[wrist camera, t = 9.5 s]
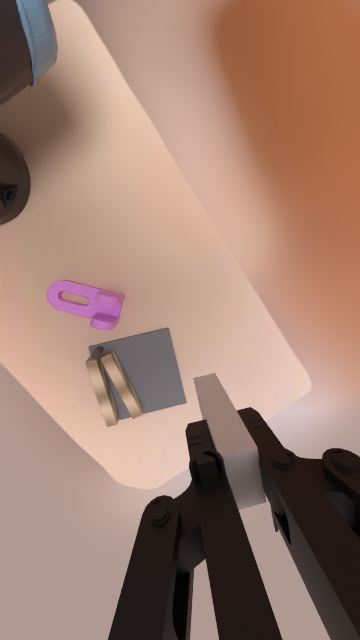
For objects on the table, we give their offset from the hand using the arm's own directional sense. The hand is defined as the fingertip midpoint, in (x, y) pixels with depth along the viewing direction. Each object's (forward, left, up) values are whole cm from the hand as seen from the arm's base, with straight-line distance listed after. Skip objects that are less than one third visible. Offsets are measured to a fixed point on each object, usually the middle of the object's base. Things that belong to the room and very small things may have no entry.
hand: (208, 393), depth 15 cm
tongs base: (+10, -17, -29) cm, 35 cm away
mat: (+10, -10, -29) cm, 33 cm away
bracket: (-7, -16, -30) cm, 34 cm away
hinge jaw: (+11, -13, -29) cm, 33 cm away
